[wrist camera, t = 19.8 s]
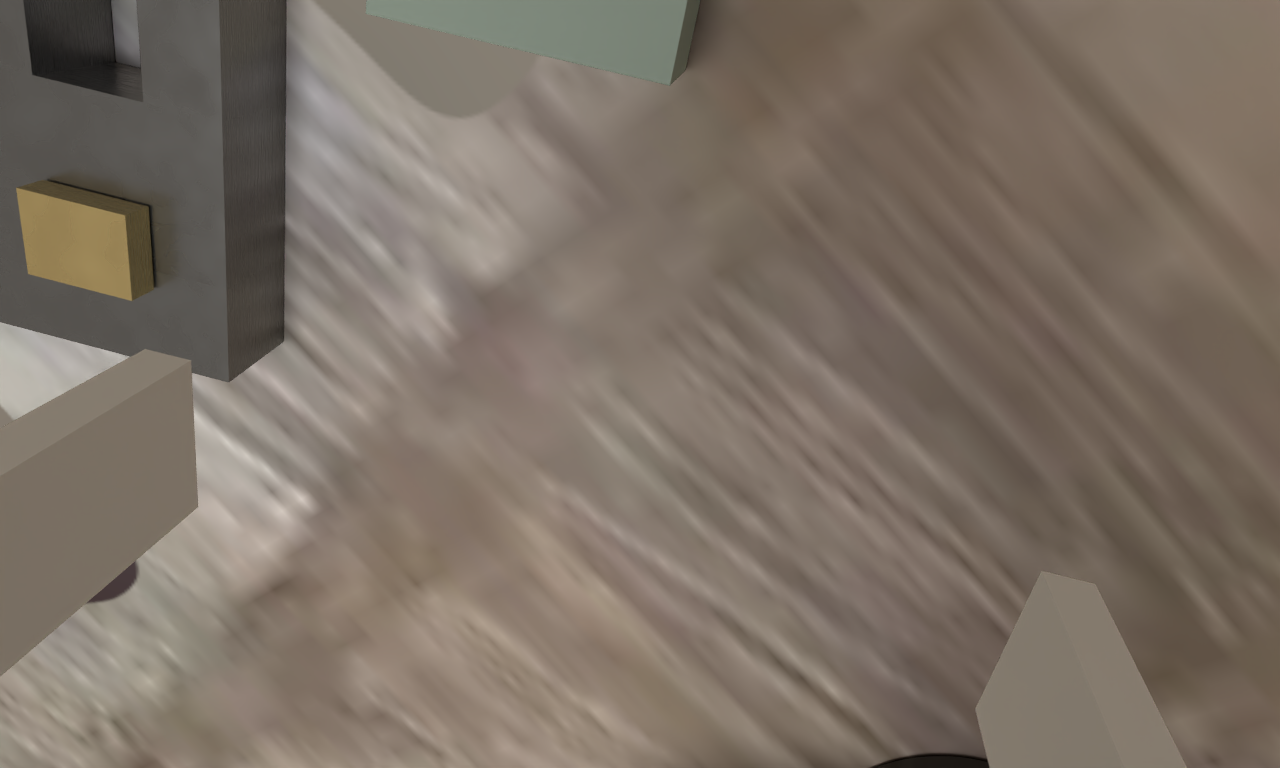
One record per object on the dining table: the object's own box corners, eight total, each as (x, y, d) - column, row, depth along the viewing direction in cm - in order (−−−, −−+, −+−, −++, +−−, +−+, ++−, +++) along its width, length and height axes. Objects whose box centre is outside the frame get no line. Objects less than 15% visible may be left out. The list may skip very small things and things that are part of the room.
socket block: (283, 341, 46) (228, 382, 42) (73, 287, 47) (-2, 321, 43) (286, -75, 37) (216, -79, 33) (25, -135, 38) (-77, -148, 33)
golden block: (214, 258, 44) (132, 301, 39) (123, 234, 45) (28, 273, 39) (212, 182, 42) (125, 215, 37) (116, 157, 43) (15, 187, 37)
